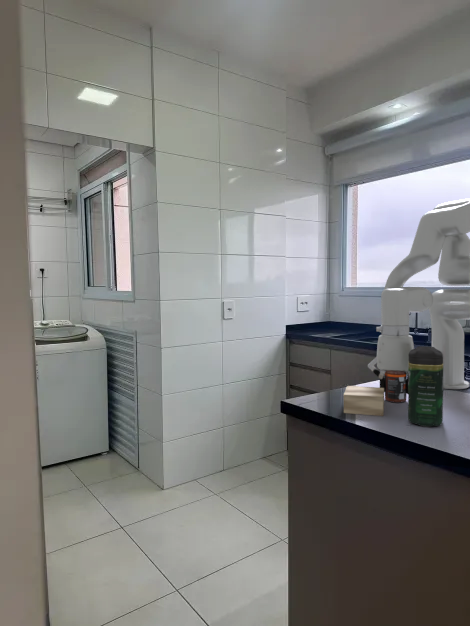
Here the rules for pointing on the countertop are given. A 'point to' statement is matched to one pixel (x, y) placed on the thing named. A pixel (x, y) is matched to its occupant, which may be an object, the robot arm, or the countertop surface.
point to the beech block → (364, 400)
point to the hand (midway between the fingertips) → (395, 391)
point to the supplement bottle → (395, 386)
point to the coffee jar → (425, 386)
